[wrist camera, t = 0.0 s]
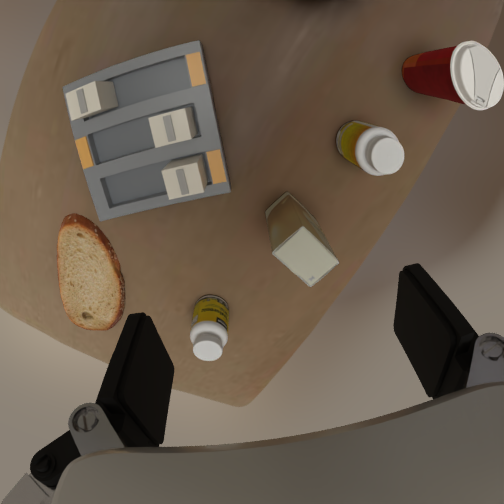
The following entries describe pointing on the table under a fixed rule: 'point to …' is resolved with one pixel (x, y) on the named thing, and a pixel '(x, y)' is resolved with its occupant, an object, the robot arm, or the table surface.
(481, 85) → the paper cup
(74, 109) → the beige switch slider block
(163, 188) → the switch bank
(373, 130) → the supplement bottle
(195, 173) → the tab
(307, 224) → the skincare box
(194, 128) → the tab
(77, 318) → the bread slice
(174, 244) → the table surface
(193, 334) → the supplement bottle
